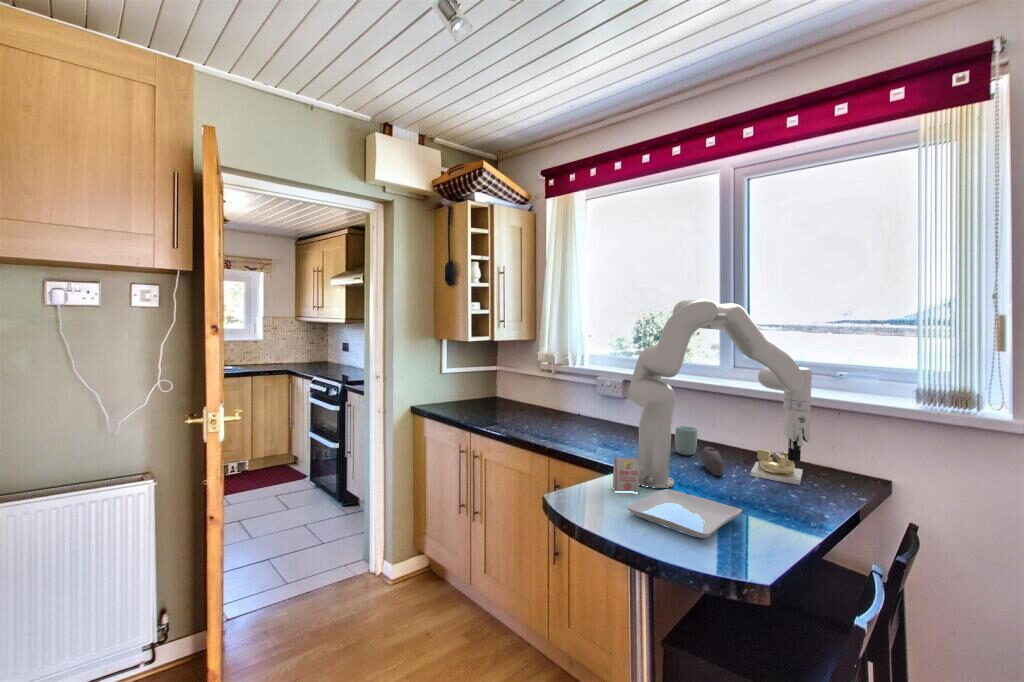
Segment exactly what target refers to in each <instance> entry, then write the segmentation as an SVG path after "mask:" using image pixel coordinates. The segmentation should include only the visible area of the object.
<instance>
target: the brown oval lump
mask: <svg viewBox="0 0 1024 682" xmlns="http://www.w3.org/2000/svg"><path fill="white" fill-rule="evenodd" d="M700 455H701V459H700V460H701V461H702V464H703V466H704V467H705V468H706V470H708V471H709V473H711V474H713V475H715V476H718V477H719V476H721V475H722V474H723V472H724V466H725V465H724V460H723V458H722V456H721V454H720V453H719V451H718V450H717V449H715V448H714V447H712V446H705V447H704V448H702V451H701V454H700Z"/></svg>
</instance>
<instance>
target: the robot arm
mask: <svg viewBox="0 0 1024 682" xmlns="http://www.w3.org/2000/svg"><path fill="white" fill-rule="evenodd" d="M662 328H663V329H662V331H661V334H660V336H659V339H658V342H657V344H653V345H650V346H649V345H648V346H647V347H645V348H644V349H643V350H642V351H641V353H639V356H638V359H637V361H636V364H635V367H634V370H633V373H632V377H631V381H630V384H629V388H628V389H629V391H628V394H629V397H630V400H631V401H632V403H634V404H635V405H637V406H640V407H642V412H641V414H640V418H639V422H638V423H639V424H638V446H637V448H638V449H637V458H638V459H639V484H641V485H644V486H648V487H655V488H667V489H670V488H669V487H671V488H673V487H674V486H675V480H674V479H673V478H672V477H670V469H671V467H670V465H671V447H672V445H671V443H672V425H673V415H674V411H675V407H676V402H677V401H676V400H677V397H676V396H677V395H676V393H675V390H674V389H673V387H672V386H671V385H669V384H668V383H666V382H664V381H662V380H661V378H666V379H667V378H669V379H671V378H674V377H676V376H677V375H678V374H679V373H680V371H681V369H682V365H683V362H684V359H685V355H686V352H687V349H688V345H689V343H690V341H691V338H692V336H693V335H694V334H695V332H697V331H698V330H699V329H705V330H716V331H718V330H719V331H720V330H723V331H724V332H725V334H726V335H727V336H728V337H729V339H730V340H731V341H732V343H733V345H735V347H736V348H737V349H738V351H739V352H740V353H741V354H742V355H744V356H745V357H747V358H749V359H751V360H753V361H755V362H757V363H759V364H761V365H763V366H764V367H762V368H761V369H760V371H759V372H758V376H757V380H758V381H759V384H761V385H762V386H763V387H765V388H767V389H770V390H775V391H781V392H783V407H782V408H783V409H784V411H785V412H784V422H783V434H784V436H785V437H786V438H787V451H788V460H790V461H794V462H798V463H799V462H800V461H801V453H802V452H801V451H802V447H803V446H804V442H805V443H809V442H810V439H811V438H810V435H811V432H810V431H811V428H810V427H811V425H810V424H811V423H810V422H811V421H810V412H811V401H812V400H811V396H812V380H813V379H812V378H813V373H812V372H813V371H812V370H811V368H809V367H804V366H803V367H802V366H798V364H797V363H796V362H795V361H794V359H793V358H792V357H791V356H790V355H789V354H788V353H787V352H786V351H785V350H784V349H781V348H780V347H779V346H777V345H776V344H775V343H774V342H772V341H771V340H769V339H768V338H767V337H766V336H765V335H764V333H762V331H761V329H760V328H759V327H758V326H757V324H756V323H755V322H754V320H753V319H752V318H751V316H750V315H749V313H748V312H747V310H745V308H744V307H743V306H742V305H740V304H738V303H716V302H715V300H714V301H713V300H711V299H707V298H696V299H684V300H680V301H679V302H677V303H676V304H675V305H674V306H673V310H672V315H670V317H669V318H668V320H667V321H666V322H665V324H664V326H663V327H662ZM672 486H673V487H672Z"/></svg>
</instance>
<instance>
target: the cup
mask: <svg viewBox="0 0 1024 682" xmlns="http://www.w3.org/2000/svg"><path fill="white" fill-rule="evenodd" d="M674 431H675V432H674V433H675V436H674V446H675V450H676V452H677V453H678V455H679V454H680V455H681V456H686V457H687V456H692V455H694V454H695V453H696V451H697V445H698V431H699V430H698V428H696V427H694V426H688V425H676V426H675V430H674Z"/></svg>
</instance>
